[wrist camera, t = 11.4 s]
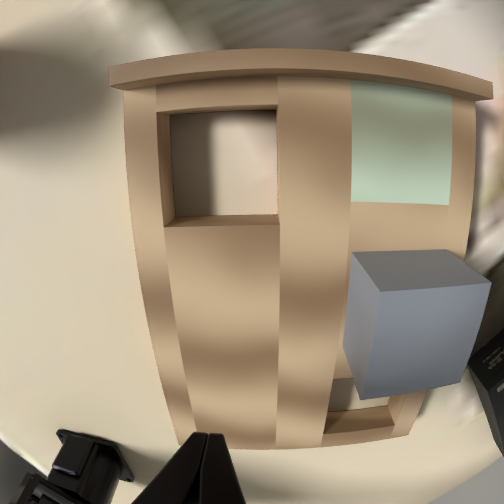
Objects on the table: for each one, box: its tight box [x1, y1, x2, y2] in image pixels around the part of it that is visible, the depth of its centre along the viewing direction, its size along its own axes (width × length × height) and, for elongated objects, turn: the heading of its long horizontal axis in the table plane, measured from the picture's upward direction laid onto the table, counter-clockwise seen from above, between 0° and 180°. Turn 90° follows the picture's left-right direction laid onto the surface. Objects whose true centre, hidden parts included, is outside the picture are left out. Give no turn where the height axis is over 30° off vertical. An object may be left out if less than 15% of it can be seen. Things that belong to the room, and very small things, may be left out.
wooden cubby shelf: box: [108, 48, 493, 450], centre depth 15 cm, size 22×16×4 cm
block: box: [342, 249, 491, 400], centre depth 13 cm, size 5×5×4 cm
